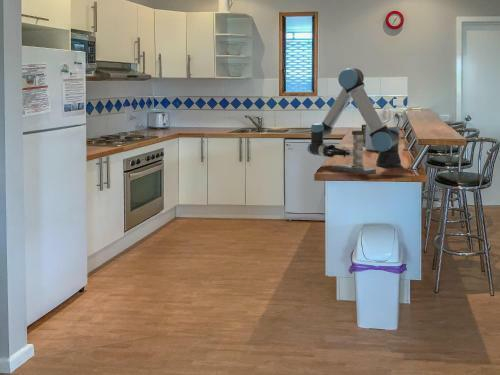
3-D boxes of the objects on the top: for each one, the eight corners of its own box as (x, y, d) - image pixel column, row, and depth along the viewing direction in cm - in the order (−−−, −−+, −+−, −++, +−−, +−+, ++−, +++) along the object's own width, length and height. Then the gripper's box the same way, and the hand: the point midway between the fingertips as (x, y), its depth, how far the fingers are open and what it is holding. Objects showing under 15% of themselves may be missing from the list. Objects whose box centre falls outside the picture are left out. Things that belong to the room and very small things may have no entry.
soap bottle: (370, 148, 526) (371, 114, 522) (381, 149, 521) (382, 115, 517) (364, 150, 520) (365, 115, 515) (375, 151, 514) (376, 115, 510)
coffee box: (360, 145, 547) (361, 124, 544) (367, 145, 551) (367, 124, 548) (369, 146, 540) (369, 125, 537) (375, 146, 543) (375, 125, 540)
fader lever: (351, 167, 418) (351, 131, 414) (357, 166, 421) (358, 130, 417) (357, 168, 414) (358, 131, 410) (363, 167, 416) (364, 131, 413)
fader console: (333, 169, 427) (333, 165, 427) (344, 167, 433) (344, 164, 432) (364, 174, 407) (364, 170, 406) (375, 172, 412) (376, 168, 411)
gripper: (335, 155, 441) (362, 159, 422) (319, 157, 433) (346, 161, 414) (335, 143, 439) (362, 146, 420) (319, 145, 432) (346, 148, 413)
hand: (354, 154), depth 417 cm, fingers closed
